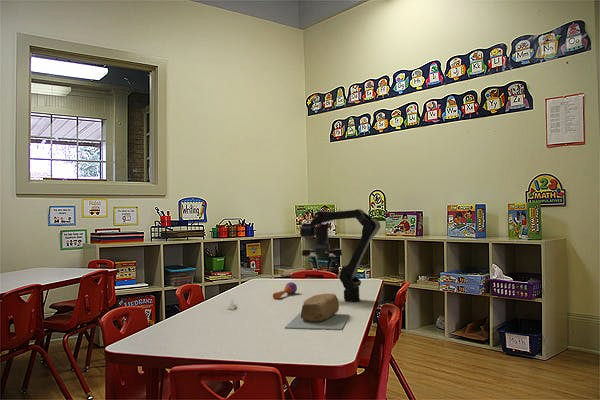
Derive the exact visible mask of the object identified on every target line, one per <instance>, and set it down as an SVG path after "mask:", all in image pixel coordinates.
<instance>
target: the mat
mask: <svg viewBox="0 0 600 400" xmlns="http://www.w3.org/2000/svg"><path fill="white" fill-rule="evenodd" d="M349 317H350V314H345V313H344V314H342V313H335V314H334V315H333V316H331V317H329V318H328V319H326V320H323V321H321V322H311V321H304V320H303V319H302V318H301V312H300V313H298V314H297V315H295V317H294V318H293V319H292V320H291V321H290V322H288V323H287V325H286V326H284V329H288V330H289V329H291V330H293V329H295V330H296V329H297V330H323V329H326V330H327V331H328V330H329V331H330V330H331V331H336V330H337V331H342V330H343V328H344V326H345V324H346V322H347V321H348V319H349Z"/></svg>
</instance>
